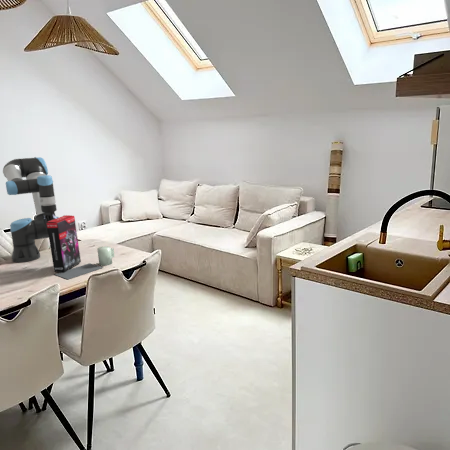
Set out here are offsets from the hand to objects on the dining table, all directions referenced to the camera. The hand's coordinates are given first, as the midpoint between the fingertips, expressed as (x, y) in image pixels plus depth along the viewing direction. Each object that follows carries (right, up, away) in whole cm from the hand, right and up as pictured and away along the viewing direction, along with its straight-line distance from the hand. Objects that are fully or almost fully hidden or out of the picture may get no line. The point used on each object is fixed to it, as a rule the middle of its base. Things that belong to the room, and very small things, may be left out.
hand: (54, 246), depth 234 cm
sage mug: (+29, -9, +1) cm, 30 cm away
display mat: (+17, -13, -10) cm, 24 cm away
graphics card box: (+9, -11, -4) cm, 15 cm away
